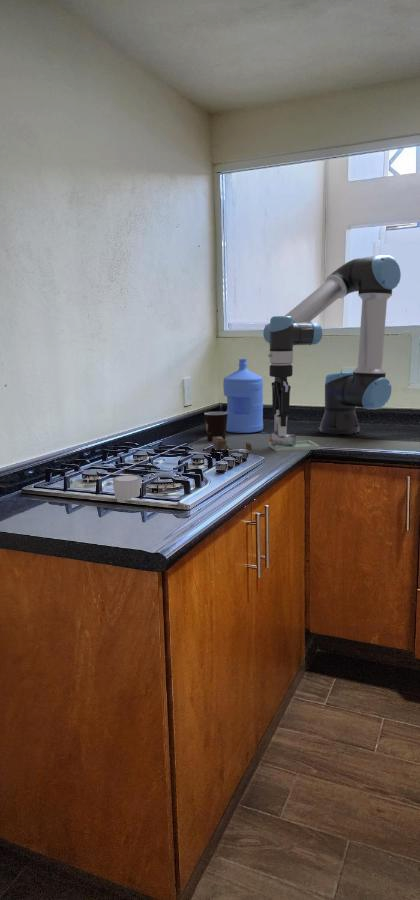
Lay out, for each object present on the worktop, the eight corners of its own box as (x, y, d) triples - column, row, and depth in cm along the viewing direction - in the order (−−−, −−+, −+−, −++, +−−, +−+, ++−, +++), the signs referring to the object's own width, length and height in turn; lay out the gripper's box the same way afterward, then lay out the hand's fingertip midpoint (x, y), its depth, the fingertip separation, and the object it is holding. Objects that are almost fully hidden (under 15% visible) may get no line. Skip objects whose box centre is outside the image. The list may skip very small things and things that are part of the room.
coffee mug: (225, 442, 215) (225, 415, 213) (202, 442, 216) (201, 415, 214) (231, 436, 226) (231, 410, 224) (208, 436, 227) (208, 410, 225)
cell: (283, 432, 203) (286, 407, 202) (287, 434, 200) (290, 409, 198) (272, 432, 203) (274, 407, 201) (276, 434, 199) (278, 408, 197)
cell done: (293, 434, 204) (268, 432, 203) (296, 435, 200) (271, 433, 199) (291, 445, 205) (267, 443, 203) (295, 447, 201) (270, 445, 199)
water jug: (245, 425, 251) (244, 357, 245) (271, 430, 238) (271, 358, 233) (216, 429, 241) (214, 359, 236) (241, 435, 229) (240, 361, 223)
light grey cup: (129, 500, 146) (127, 473, 145) (149, 505, 142) (147, 477, 141) (107, 507, 141) (106, 479, 140) (127, 513, 137) (126, 483, 136)
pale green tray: (309, 444, 209) (309, 440, 209) (319, 449, 200) (319, 445, 199) (268, 446, 206) (268, 442, 206) (276, 452, 197) (276, 448, 197)
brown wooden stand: (246, 447, 205) (246, 433, 204) (253, 453, 197) (253, 438, 196) (212, 449, 203) (212, 435, 202) (217, 455, 195) (217, 440, 194)
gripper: (263, 363, 204) (262, 431, 209) (277, 366, 188) (276, 439, 192) (284, 362, 205) (283, 430, 210) (300, 365, 189) (299, 438, 194)
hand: (280, 434), depth 201 cm, fingers closed on cell, 4 cm apart
